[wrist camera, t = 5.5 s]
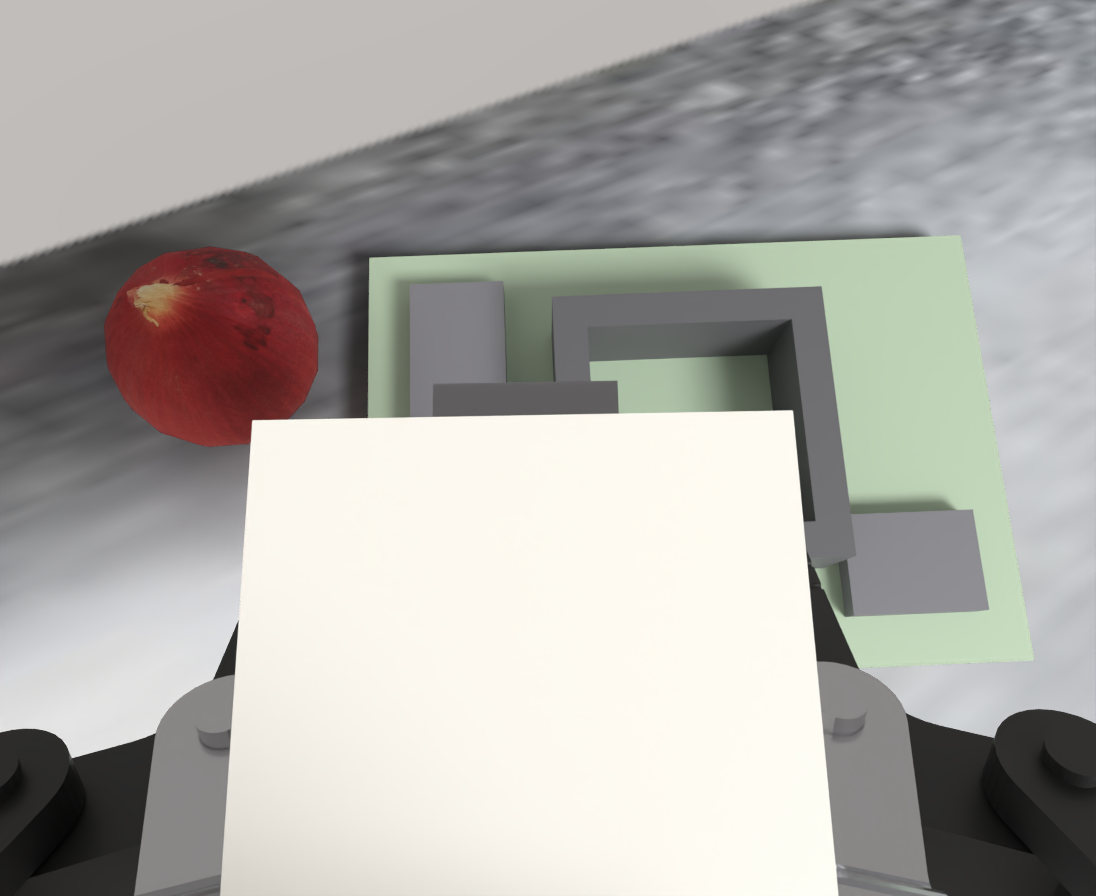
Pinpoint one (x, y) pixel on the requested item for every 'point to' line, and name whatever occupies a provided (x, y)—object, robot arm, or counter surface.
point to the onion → (210, 345)
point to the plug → (527, 655)
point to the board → (764, 398)
